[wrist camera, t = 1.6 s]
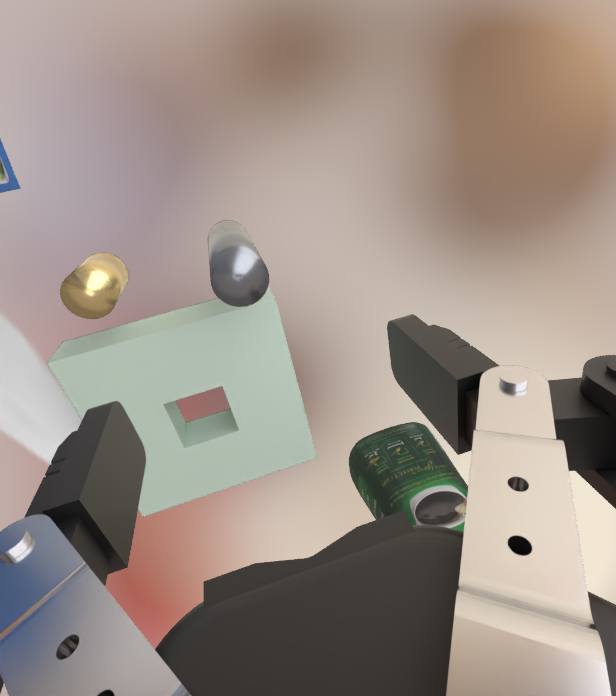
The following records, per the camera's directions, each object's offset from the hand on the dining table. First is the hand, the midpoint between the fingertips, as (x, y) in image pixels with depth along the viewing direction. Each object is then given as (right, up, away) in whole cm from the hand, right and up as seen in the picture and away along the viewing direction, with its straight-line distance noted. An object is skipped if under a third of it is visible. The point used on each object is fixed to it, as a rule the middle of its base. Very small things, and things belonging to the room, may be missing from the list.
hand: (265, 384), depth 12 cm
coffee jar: (+10, -10, +31) cm, 34 cm away
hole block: (-8, -3, +23) cm, 24 cm away
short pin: (-13, +6, +16) cm, 22 cm away
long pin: (-5, +9, +17) cm, 20 cm away
